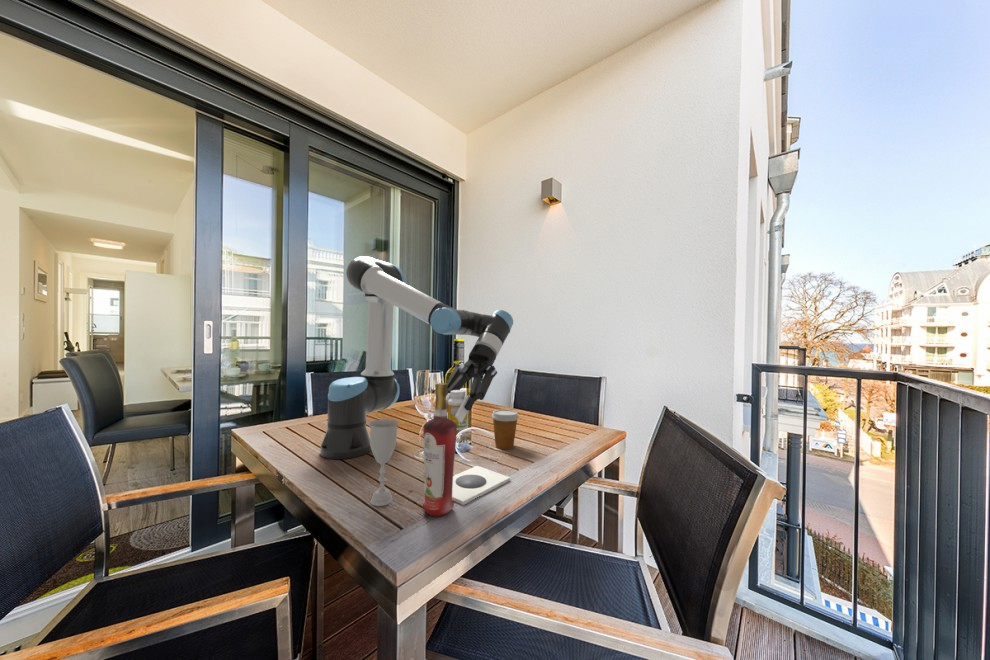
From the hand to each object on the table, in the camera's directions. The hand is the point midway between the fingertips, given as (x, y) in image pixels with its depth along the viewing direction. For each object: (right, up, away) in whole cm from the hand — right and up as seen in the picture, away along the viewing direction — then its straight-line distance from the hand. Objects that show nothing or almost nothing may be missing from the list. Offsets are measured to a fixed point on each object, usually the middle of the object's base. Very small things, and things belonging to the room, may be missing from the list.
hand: (449, 417), depth 87 cm
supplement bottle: (+2, -4, +3) cm, 5 cm away
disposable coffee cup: (+15, -19, +33) cm, 41 cm away
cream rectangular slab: (+5, -18, +2) cm, 19 cm away
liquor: (-1, -18, -12) cm, 21 cm away
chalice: (-15, -17, -8) cm, 24 cm away
